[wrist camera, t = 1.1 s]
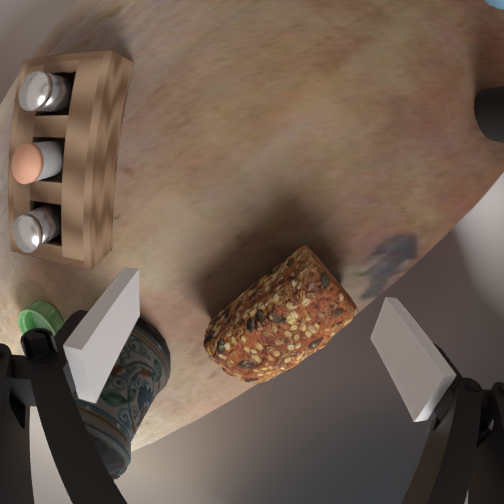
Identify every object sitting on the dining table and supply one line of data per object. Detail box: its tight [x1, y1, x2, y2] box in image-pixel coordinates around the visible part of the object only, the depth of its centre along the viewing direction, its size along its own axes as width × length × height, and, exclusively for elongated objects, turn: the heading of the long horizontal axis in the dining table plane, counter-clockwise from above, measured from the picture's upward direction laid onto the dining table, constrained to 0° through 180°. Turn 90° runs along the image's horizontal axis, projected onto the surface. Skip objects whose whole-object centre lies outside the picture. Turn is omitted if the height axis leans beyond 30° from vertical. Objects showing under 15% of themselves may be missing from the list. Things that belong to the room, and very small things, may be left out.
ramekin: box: [18, 301, 64, 336], centre depth 43 cm, size 9×9×4 cm
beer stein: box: [73, 317, 170, 481], centre depth 36 cm, size 16×19×25 cm
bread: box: [204, 245, 359, 384], centre depth 39 cm, size 19×11×10 cm, turn 132°
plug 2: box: [12, 203, 62, 253], centre depth 30 cm, size 4×4×6 cm
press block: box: [8, 50, 134, 270], centre depth 32 cm, size 26×14×7 cm, turn 170°
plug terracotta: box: [11, 140, 65, 184], centre depth 28 cm, size 4×4×6 cm
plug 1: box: [19, 71, 74, 112], centre depth 25 cm, size 4×4×6 cm
